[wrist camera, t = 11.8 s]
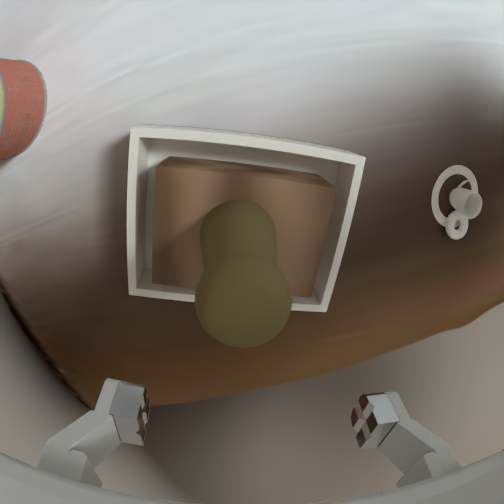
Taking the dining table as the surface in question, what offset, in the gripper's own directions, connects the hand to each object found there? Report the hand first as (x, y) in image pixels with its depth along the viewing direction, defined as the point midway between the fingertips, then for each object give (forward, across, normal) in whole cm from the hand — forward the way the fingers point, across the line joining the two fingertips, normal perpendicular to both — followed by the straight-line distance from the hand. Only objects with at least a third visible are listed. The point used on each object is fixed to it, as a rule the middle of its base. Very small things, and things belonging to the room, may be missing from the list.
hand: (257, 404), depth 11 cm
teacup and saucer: (+24, -23, -3) cm, 34 cm away
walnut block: (+22, 0, 0) cm, 22 cm away
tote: (+23, 0, 0) cm, 23 cm away
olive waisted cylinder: (+16, 0, 0) cm, 16 cm away
